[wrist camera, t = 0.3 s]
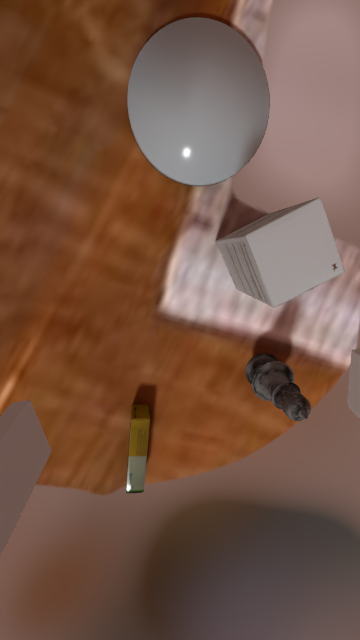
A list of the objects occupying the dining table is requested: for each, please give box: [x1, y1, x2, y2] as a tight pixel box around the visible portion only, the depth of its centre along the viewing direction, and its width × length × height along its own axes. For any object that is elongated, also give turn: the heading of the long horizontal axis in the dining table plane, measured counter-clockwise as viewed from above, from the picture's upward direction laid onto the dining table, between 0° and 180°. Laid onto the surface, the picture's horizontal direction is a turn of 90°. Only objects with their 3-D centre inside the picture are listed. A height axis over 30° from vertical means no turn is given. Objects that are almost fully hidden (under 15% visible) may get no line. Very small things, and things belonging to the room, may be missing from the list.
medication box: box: [126, 404, 150, 493], centre depth 40 cm, size 12×3×4 cm, turn 174°
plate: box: [128, 17, 270, 186], centre depth 31 cm, size 16×16×1 cm
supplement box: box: [216, 198, 345, 308], centre depth 30 cm, size 7×7×13 cm
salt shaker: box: [245, 354, 311, 421], centre depth 35 cm, size 6×6×12 cm
